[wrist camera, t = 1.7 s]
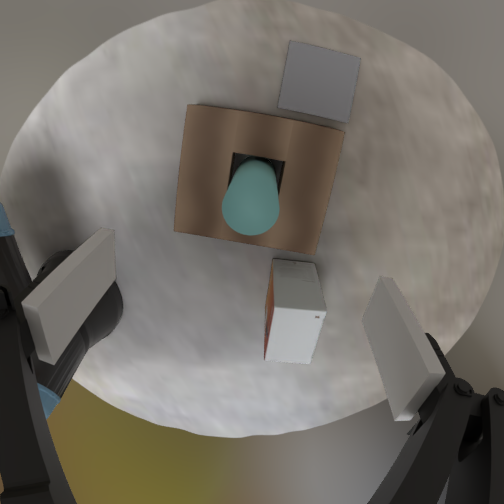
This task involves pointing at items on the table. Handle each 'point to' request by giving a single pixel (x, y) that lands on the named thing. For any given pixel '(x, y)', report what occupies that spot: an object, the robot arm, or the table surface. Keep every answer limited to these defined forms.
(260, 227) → the plug
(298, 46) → the mat
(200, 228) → the wooden block with hole
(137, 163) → the table surface
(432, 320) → the table surface
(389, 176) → the table surface
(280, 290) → the small box
